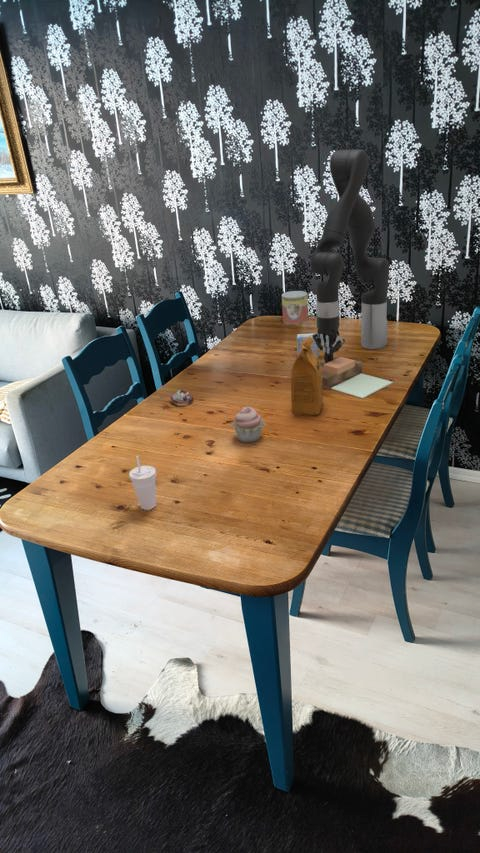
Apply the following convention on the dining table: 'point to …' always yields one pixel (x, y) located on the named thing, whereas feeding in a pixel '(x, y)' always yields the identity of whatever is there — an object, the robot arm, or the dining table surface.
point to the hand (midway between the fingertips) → (328, 362)
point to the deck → (334, 379)
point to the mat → (361, 385)
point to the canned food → (294, 307)
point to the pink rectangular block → (339, 365)
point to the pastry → (182, 398)
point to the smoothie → (144, 485)
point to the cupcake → (248, 425)
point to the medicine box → (314, 347)
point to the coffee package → (306, 382)
